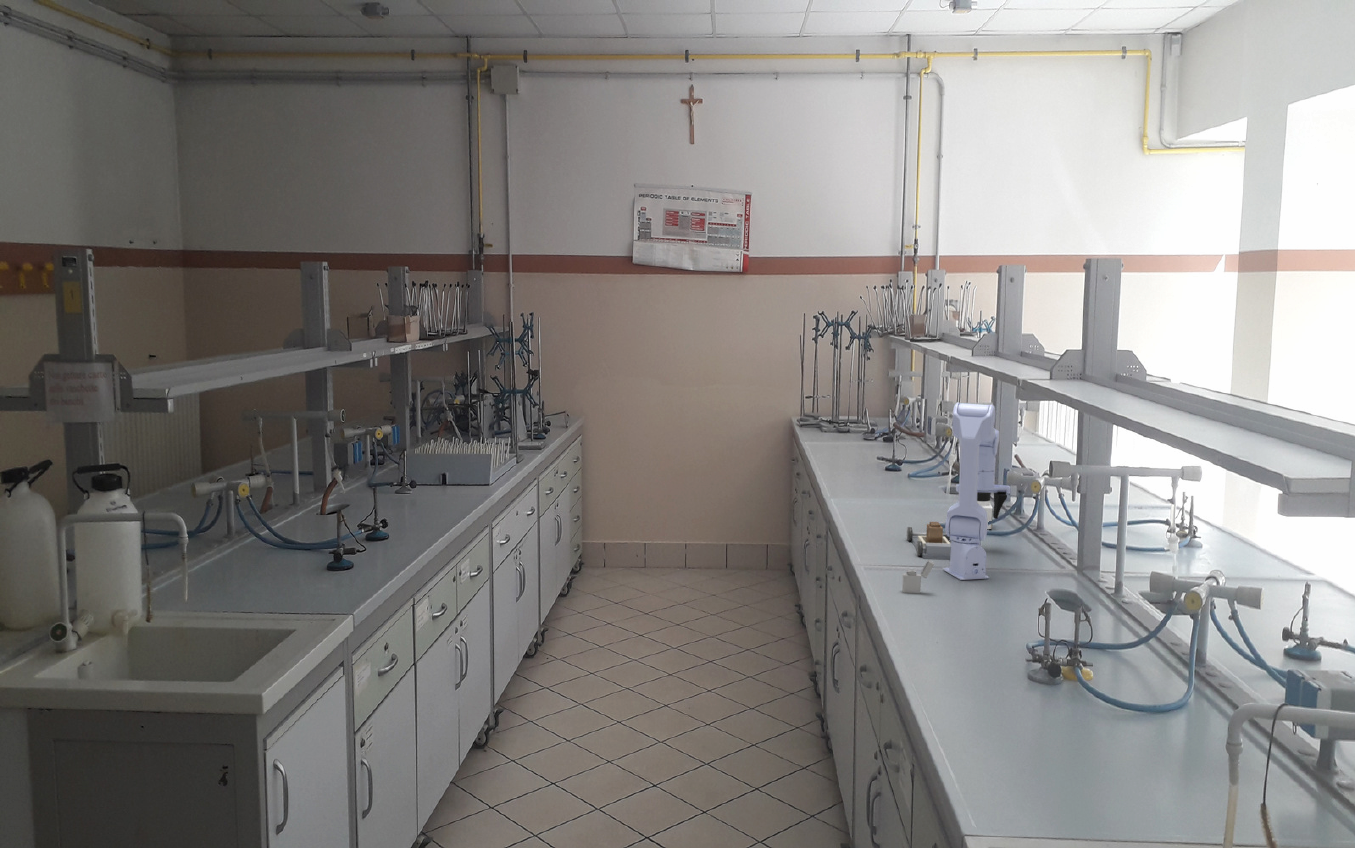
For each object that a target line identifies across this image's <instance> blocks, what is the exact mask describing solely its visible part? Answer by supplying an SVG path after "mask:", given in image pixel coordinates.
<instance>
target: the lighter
mask: <svg viewBox="0 0 1355 848" xmlns="http://www.w3.org/2000/svg"><path fill="white" fill-rule="evenodd" d="M934 566H935V562H934V561H932V560H931V559H928V560H927V561H926V563H925V565H924V566H923V569H922V570H921V572H920V573H917V570H914V569H912V570H911V569H908V570H907V571H906V573H902V588H901V589H902V590H901V591H902V593H904V594H921V590H922V589H921V587H922V578H924V579H927V578H928V576H929V574H930V572H931V571H932V569H933V568H934Z"/></svg>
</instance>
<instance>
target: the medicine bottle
mask: <svg viewBox="0 0 1355 848" xmlns="http://www.w3.org/2000/svg"><path fill="white" fill-rule="evenodd" d="M991 495H992V494H991V493H986V492H977V503H978V504H980V505H981V506H982V507H983V508H984V509H985V510H986V512H987V520H988V522H989V521H992V522H993V511H994V506H992V503H991ZM992 528H993V523H992V524H991V525H989V526H988V528H987V529H992Z"/></svg>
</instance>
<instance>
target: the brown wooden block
mask: <svg viewBox="0 0 1355 848" xmlns="http://www.w3.org/2000/svg"><path fill="white" fill-rule="evenodd" d="M925 533H926V543H942V537H943V533H944V528H943V526H942V525H941V523H940V522H939V521H929V523H927V524H926V532H925Z"/></svg>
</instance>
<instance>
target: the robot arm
mask: <svg viewBox="0 0 1355 848" xmlns="http://www.w3.org/2000/svg"><path fill="white" fill-rule="evenodd" d="M952 410H953V411H952V419H951V420H952V424H951V430H952V431H951V432H952V436H953V437H955V438H956V439H958V442H959V448H960V452H959V453H960V454H959V455H960V456H959V482H958V484H957V483H956V485H955V491H956V492H957V493H958V501H957V502H955V503H954V504H952V505H951V506H949V508H948V510H947V511H946V517H945V518H946V519H945V525H944V526H945V528H944V529H945V530H944V533H945V532H946V535H947V536H948V537H950V540H951V541H950V544H951V553H950V559H949V566H948V567H942V570H943V571H945V572H946V573H948V574H950V575H952V576H953V577H955V578H956V579H957V580H961V581H963V580H965V581H966V580H980V579H989V576H988V575H986V571H987V552H986V550H985V549H984V547H982V545H981V542H983V541H984V540H986V539H987V536H988V535H987V534H988V530H987V528H988V520H987V512H986V510H985V509H984V508H983V507H982V506H981V505H980V504H978V503H977V492H986V493H993V516H992V518H994V519H995V520H997V519H998V518H999V514H1000V511H1001V509H1002V506H1003V504H1005V502H1006V500H1007V499H1008V494H1009V495H1010V494H1011V490H1012V487H1011V486H1010V485H1004V484H1002V485H1001V484H995V476H996V475H995V474H996V460H997V456H996V455H998V447H999V443H1000V431H999V429H997V428H995V421H996V407H995V405H994V404H980V403H979V404H978V403H965V402H964V403H963V402H958V401H957V402H956V403H955V404H954V406H953V409H952Z"/></svg>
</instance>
